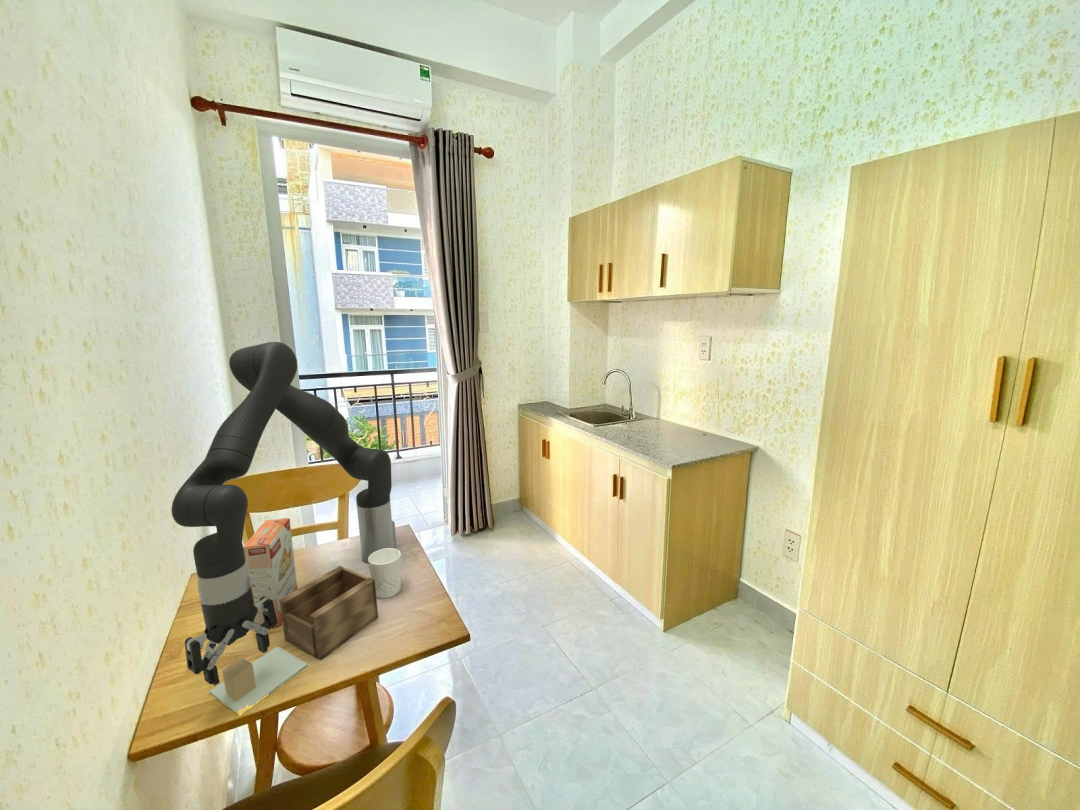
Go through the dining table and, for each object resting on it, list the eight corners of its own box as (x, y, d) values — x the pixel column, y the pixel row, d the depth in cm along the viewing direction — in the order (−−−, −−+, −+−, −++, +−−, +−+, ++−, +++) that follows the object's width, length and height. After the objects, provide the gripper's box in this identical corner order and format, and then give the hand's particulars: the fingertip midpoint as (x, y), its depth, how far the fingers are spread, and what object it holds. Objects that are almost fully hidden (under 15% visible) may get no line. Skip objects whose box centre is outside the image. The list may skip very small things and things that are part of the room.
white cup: (404, 596, 111) (401, 560, 109) (371, 603, 108) (367, 567, 106) (402, 579, 118) (399, 545, 116) (371, 585, 115) (368, 551, 113)
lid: (278, 650, 93) (274, 625, 92) (308, 668, 89) (304, 642, 87) (209, 695, 82) (205, 668, 81) (240, 718, 77) (235, 690, 76)
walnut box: (343, 601, 109) (339, 565, 107) (378, 617, 103) (374, 579, 101) (284, 640, 96) (279, 599, 94) (320, 660, 90) (315, 618, 88)
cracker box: (282, 626, 100) (270, 543, 96) (253, 631, 99) (239, 547, 94) (300, 590, 113) (290, 516, 109) (274, 594, 112) (263, 519, 108)
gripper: (255, 564, 86) (266, 635, 89) (168, 606, 74) (185, 686, 77) (277, 574, 83) (288, 647, 86) (190, 620, 70) (207, 703, 74)
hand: (239, 666), depth 81 cm, fingers open, 8 cm apart
